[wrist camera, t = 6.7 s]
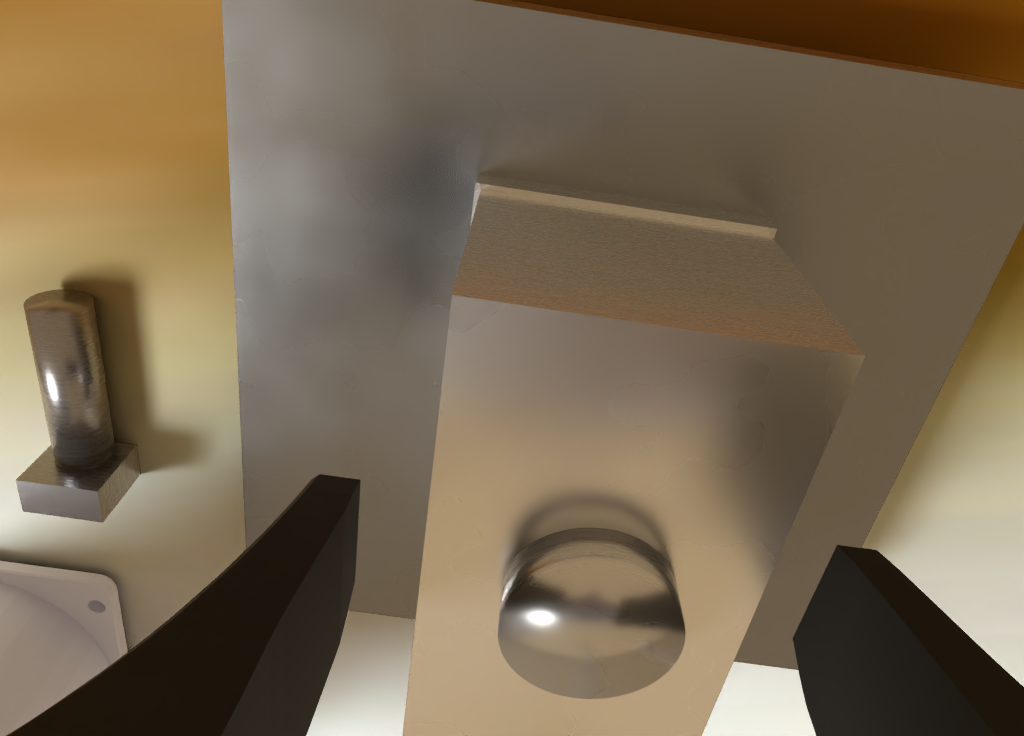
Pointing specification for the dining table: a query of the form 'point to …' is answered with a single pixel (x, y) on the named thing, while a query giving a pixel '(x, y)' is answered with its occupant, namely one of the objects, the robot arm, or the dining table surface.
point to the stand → (596, 167)
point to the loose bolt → (73, 415)
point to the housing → (612, 461)
